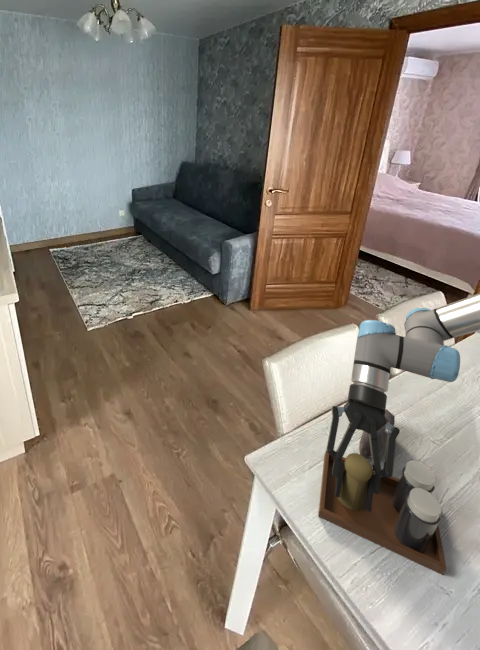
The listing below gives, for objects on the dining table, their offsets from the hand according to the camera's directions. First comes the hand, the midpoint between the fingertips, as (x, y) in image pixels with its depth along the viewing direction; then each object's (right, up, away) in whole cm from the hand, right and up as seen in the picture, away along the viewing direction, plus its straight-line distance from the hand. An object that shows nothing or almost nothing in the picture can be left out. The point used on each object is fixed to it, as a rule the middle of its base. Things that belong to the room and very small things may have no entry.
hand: (351, 502), depth 71 cm
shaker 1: (+13, -3, +2) cm, 13 cm away
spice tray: (+6, -3, +2) cm, 7 cm away
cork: (+2, -2, +4) cm, 5 cm away
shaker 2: (+10, -5, -3) cm, 12 cm away
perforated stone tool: (+14, +2, +17) cm, 22 cm away
